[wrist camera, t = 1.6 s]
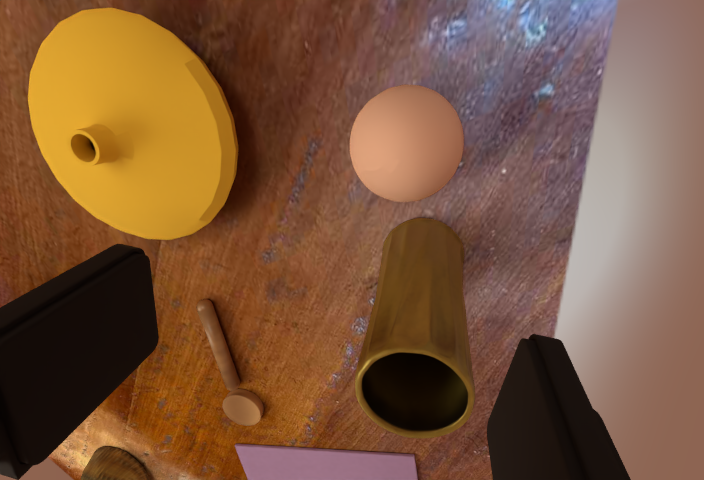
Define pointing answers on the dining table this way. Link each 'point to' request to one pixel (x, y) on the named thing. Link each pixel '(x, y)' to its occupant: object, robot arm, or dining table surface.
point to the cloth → (323, 464)
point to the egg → (406, 143)
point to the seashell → (113, 466)
